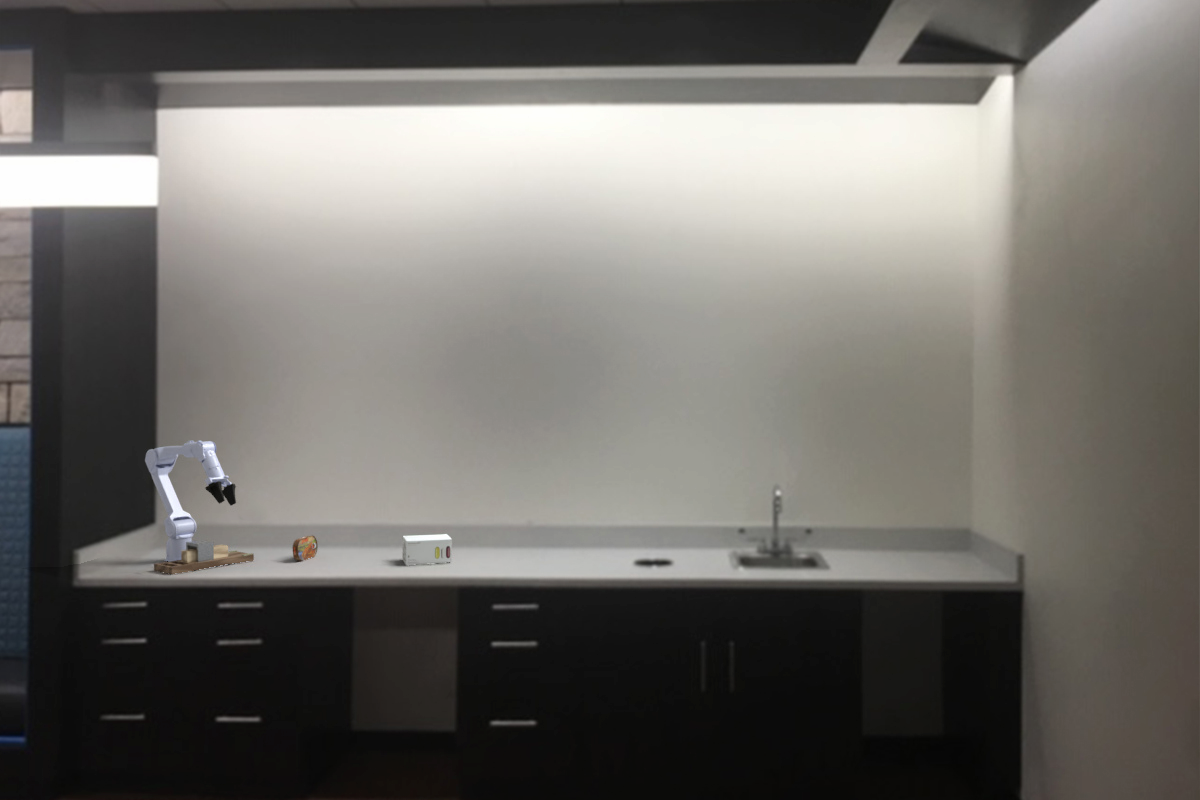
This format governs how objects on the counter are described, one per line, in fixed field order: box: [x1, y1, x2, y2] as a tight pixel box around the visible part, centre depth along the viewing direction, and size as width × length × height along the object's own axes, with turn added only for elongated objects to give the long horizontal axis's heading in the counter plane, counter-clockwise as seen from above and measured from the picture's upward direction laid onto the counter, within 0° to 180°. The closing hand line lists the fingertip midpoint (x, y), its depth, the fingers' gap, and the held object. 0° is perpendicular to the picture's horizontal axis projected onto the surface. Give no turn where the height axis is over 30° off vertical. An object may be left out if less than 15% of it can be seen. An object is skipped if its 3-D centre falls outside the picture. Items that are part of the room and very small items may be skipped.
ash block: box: [181, 544, 229, 563], centre depth 355 cm, size 4×16×4 cm, turn 143°
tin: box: [292, 534, 319, 562], centre depth 368 cm, size 15×3×8 cm, turn 168°
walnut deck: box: [153, 550, 255, 575], centre depth 355 cm, size 12×32×3 cm, turn 143°
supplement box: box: [402, 533, 453, 566], centre depth 361 cm, size 17×13×9 cm
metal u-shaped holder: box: [186, 539, 215, 562], centre depth 353 cm, size 8×6×6 cm
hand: (227, 503), depth 351 cm, fingers open, 7 cm apart
